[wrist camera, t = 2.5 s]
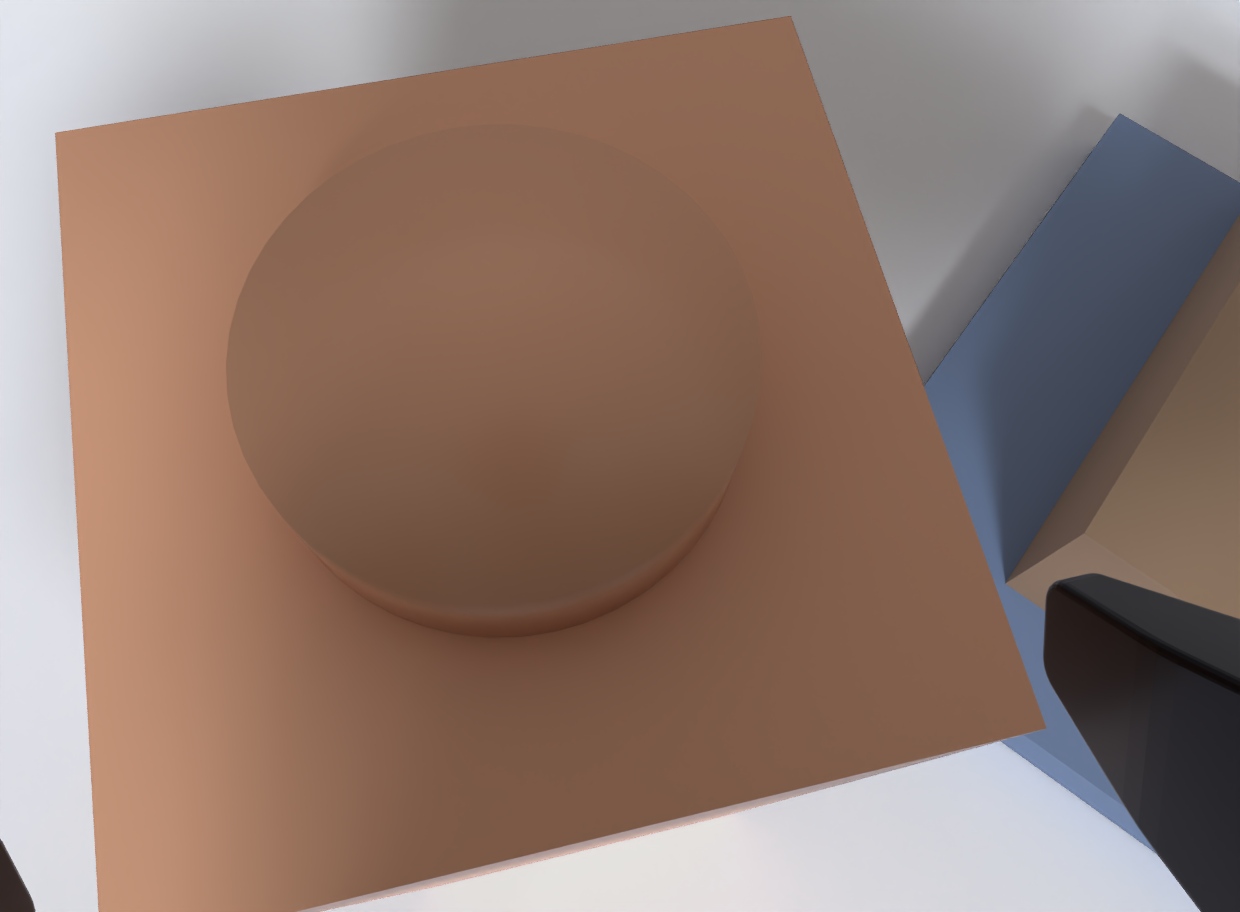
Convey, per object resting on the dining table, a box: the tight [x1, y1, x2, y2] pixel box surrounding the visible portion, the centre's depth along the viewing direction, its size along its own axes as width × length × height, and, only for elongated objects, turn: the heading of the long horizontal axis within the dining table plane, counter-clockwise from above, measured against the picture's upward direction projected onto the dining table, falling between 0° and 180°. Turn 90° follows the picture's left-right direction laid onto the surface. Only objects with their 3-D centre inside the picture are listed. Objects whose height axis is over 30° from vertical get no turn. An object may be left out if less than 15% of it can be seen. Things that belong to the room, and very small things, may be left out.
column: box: [55, 16, 1047, 912], centre depth 12 cm, size 5×5×13 cm
